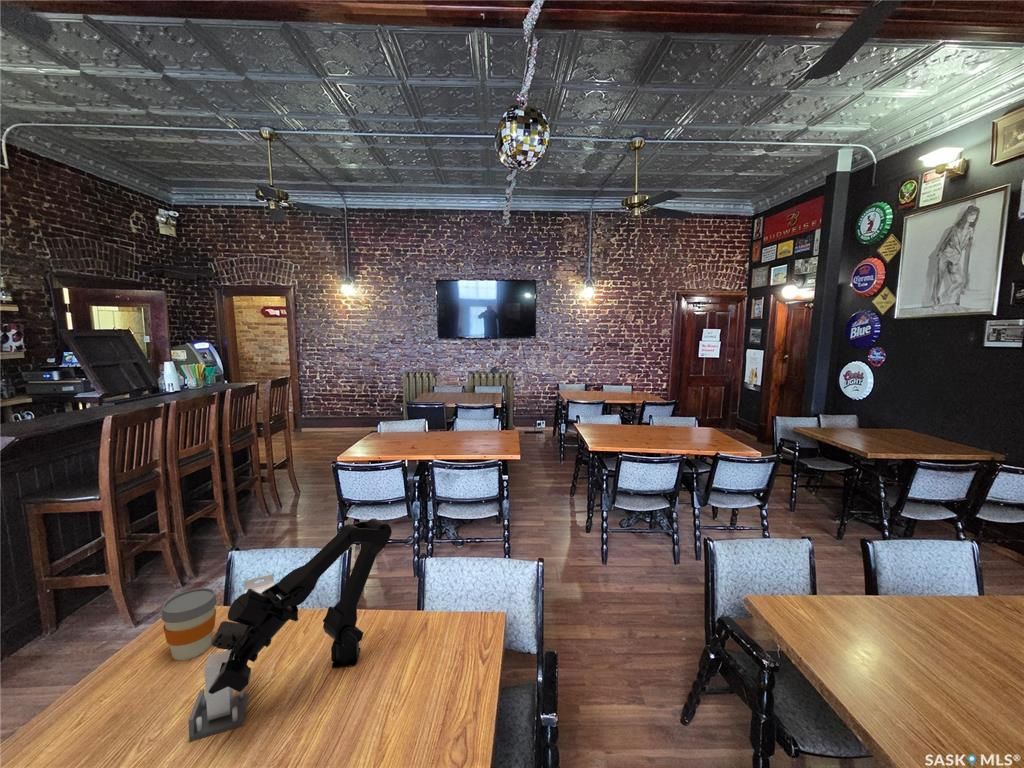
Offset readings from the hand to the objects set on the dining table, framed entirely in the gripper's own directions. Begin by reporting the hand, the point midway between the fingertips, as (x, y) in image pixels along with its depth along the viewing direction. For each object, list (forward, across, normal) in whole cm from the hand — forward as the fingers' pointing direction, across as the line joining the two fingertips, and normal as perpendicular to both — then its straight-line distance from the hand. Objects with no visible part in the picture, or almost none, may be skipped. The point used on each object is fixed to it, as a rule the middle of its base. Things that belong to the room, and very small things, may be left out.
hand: (212, 685), depth 97 cm
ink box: (+3, -35, +10) cm, 36 cm away
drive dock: (+5, 0, +7) cm, 9 cm away
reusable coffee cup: (+15, -30, -2) cm, 33 cm away
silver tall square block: (+4, 0, +6) cm, 7 cm away
